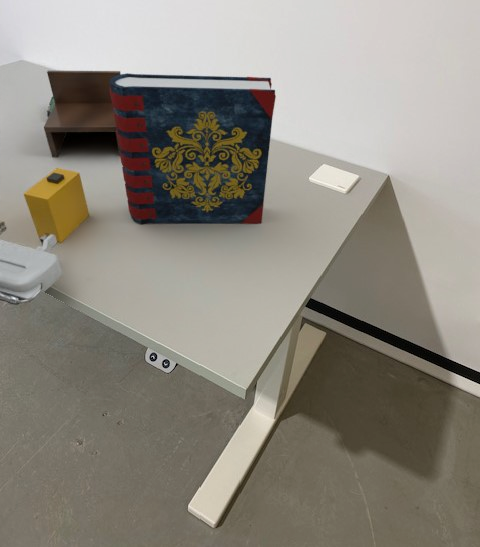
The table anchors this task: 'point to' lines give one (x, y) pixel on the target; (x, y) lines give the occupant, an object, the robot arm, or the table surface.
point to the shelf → (79, 105)
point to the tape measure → (57, 204)
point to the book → (193, 146)
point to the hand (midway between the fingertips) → (26, 230)
